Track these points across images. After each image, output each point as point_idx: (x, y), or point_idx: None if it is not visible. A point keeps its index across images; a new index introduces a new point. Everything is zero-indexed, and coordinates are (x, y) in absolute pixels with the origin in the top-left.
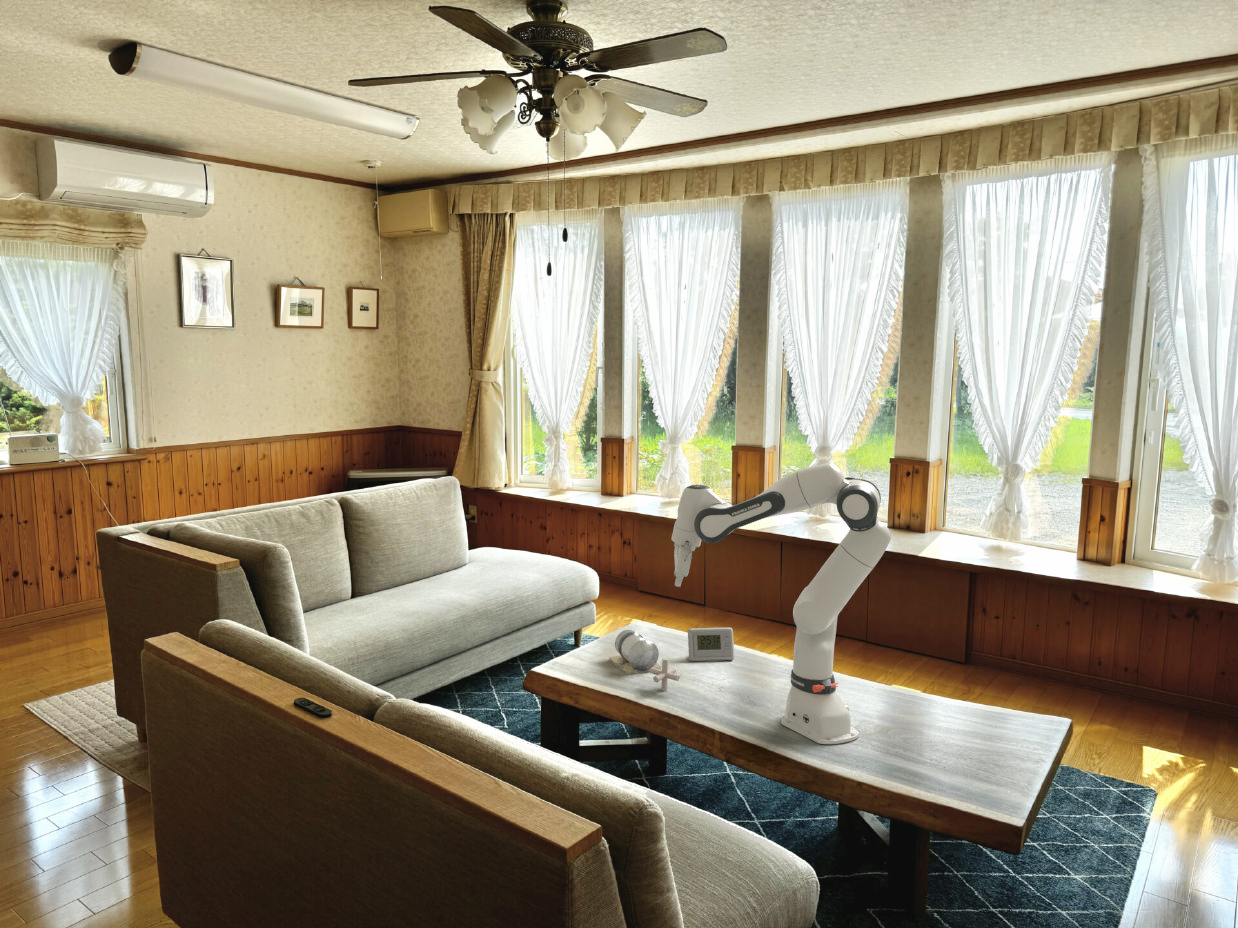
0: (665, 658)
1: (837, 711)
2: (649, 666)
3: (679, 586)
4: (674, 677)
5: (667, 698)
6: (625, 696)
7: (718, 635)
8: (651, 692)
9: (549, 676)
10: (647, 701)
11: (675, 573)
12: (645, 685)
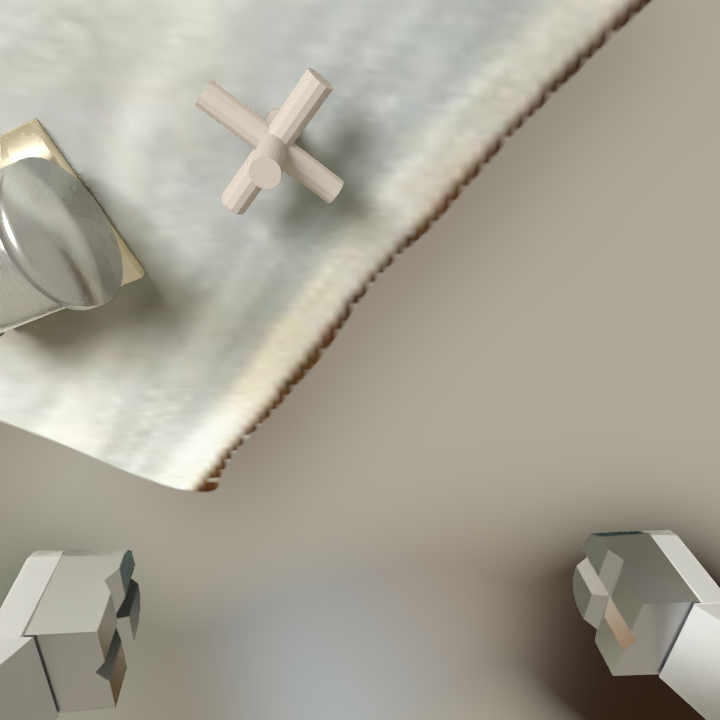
0: (256, 171)
1: None
2: (72, 185)
3: (662, 537)
4: (323, 100)
5: (372, 114)
6: (357, 274)
7: None
8: None
9: (218, 469)
10: (402, 199)
11: (124, 637)
12: None
